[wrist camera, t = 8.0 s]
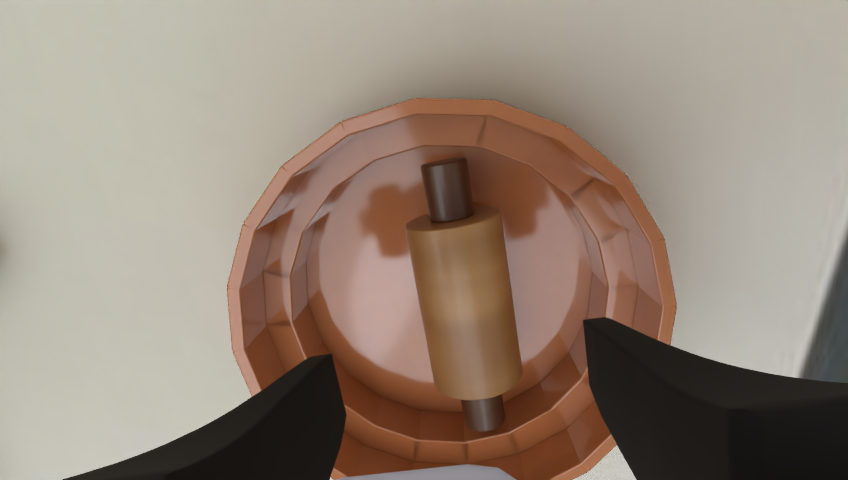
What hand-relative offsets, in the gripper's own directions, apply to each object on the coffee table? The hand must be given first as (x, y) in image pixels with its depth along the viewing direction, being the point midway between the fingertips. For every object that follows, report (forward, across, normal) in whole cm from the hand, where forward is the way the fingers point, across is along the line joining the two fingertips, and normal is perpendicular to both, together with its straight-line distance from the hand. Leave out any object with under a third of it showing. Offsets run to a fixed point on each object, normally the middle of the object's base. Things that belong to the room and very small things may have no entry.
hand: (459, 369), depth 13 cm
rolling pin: (+8, +1, 0) cm, 8 cm away
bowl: (+9, 0, 0) cm, 9 cm away
